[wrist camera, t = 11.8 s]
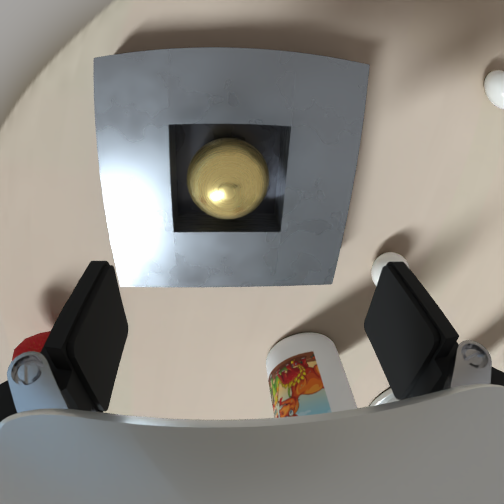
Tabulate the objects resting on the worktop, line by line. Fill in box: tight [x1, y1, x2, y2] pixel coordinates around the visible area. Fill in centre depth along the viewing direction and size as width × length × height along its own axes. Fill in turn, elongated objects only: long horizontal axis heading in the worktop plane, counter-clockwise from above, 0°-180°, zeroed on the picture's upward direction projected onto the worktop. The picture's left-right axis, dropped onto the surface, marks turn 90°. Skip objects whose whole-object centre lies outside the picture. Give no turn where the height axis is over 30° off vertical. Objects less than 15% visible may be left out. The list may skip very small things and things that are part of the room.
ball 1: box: [371, 252, 409, 286], centre depth 25 cm, size 4×4×4 cm
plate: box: [94, 47, 369, 287], centre depth 20 cm, size 16×16×3 cm
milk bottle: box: [266, 332, 357, 418], centre depth 24 cm, size 8×8×20 cm
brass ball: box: [187, 138, 269, 219], centre depth 19 cm, size 5×5×5 cm
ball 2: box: [484, 70, 504, 109], centre depth 17 cm, size 4×4×4 cm
